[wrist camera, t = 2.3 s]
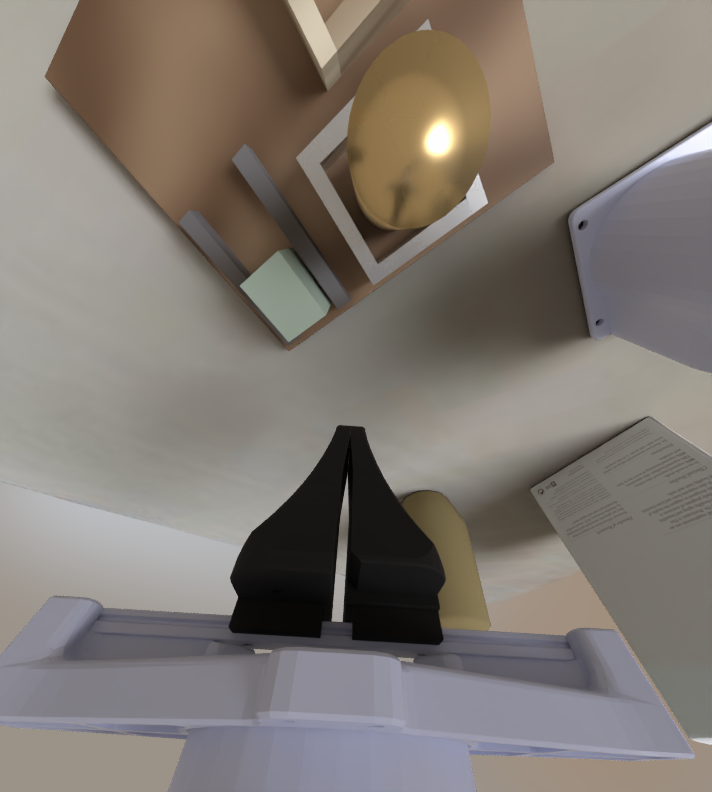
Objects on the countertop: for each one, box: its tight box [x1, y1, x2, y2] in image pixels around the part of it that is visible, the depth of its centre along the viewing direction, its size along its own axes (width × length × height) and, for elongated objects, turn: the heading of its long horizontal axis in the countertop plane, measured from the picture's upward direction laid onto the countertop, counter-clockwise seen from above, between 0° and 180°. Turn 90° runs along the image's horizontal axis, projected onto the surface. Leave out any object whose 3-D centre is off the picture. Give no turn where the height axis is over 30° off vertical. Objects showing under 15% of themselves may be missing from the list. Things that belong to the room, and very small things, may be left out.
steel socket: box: [296, 19, 488, 286], centre depth 13 cm, size 7×7×2 cm
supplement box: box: [530, 417, 712, 745], centre depth 21 cm, size 13×13×18 cm
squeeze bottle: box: [402, 491, 491, 631], centre depth 24 cm, size 8×8×18 cm
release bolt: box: [240, 248, 331, 342], centre depth 16 cm, size 4×3×3 cm
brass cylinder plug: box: [347, 30, 491, 230], centre depth 10 cm, size 4×4×8 cm
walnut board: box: [45, 0, 554, 351], centre depth 13 cm, size 17×19×2 cm
